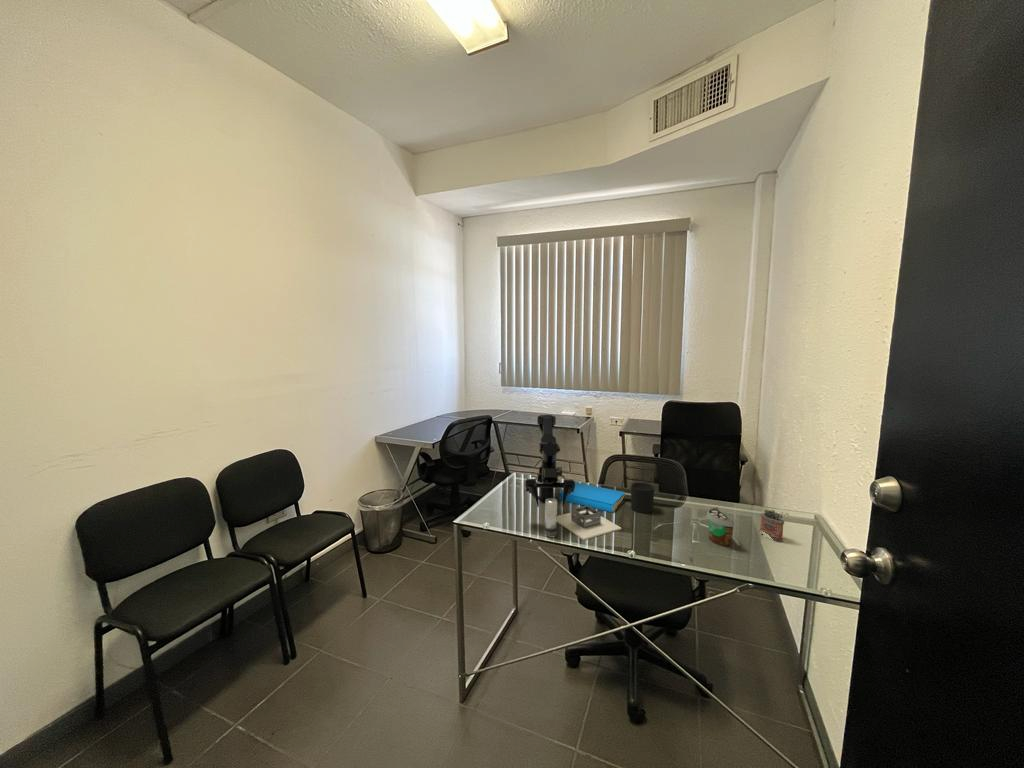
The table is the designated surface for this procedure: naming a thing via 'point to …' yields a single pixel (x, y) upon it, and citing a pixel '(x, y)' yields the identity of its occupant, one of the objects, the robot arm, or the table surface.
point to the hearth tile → (587, 532)
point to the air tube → (550, 517)
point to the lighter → (772, 525)
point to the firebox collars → (585, 516)
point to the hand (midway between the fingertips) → (550, 506)
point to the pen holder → (642, 497)
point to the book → (594, 497)
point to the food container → (719, 527)
